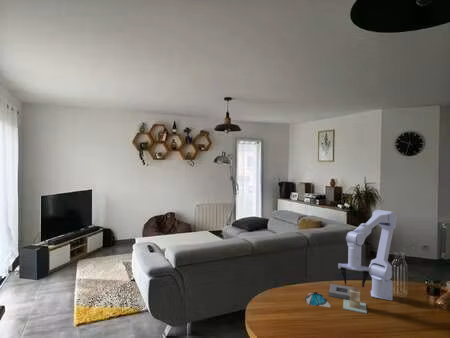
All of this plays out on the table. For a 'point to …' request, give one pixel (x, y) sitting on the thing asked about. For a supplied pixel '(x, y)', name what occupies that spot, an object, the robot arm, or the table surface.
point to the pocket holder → (336, 289)
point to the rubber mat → (361, 309)
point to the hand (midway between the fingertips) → (354, 285)
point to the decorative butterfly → (317, 300)
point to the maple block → (354, 298)
